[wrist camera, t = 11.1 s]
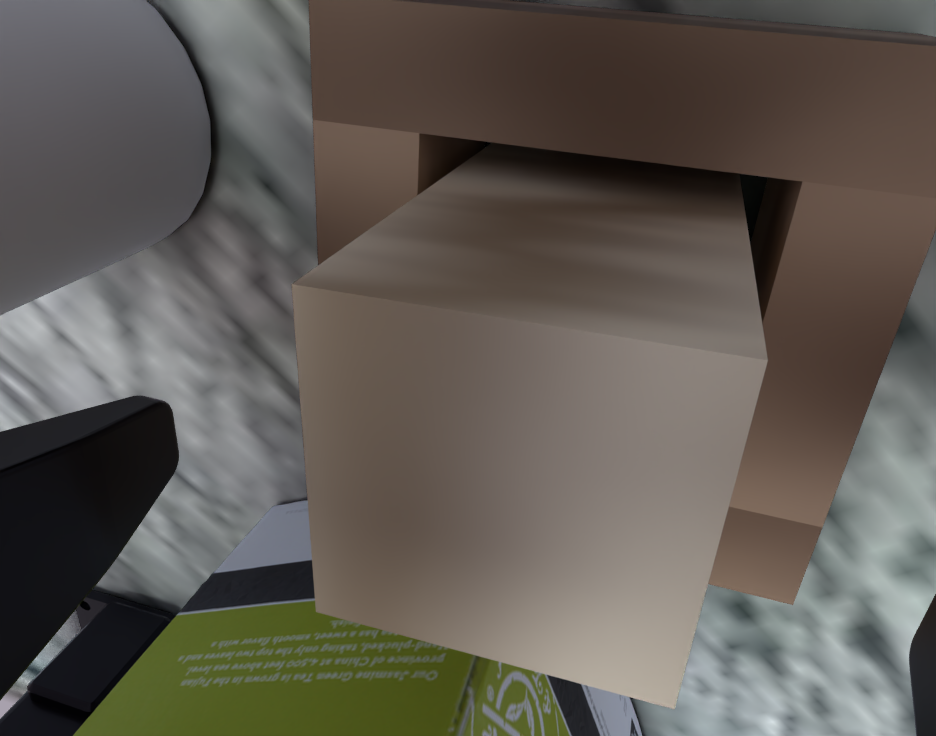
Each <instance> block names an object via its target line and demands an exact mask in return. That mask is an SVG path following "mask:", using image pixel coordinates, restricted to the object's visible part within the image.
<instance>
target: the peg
mask: <svg viewBox="0 0 936 736" xmlns="http://www.w3.org/2000/svg"><path fill="white" fill-rule="evenodd" d="M291 285H292V298H293V312H294V325H295V339H296V352H297V365H298V379H299V392H300V406H301V419H302V432H303V446H304V459H305V473H306V486H307V499H308V513H309V526H310V540H311V553H312V566H313V580H314V593H315V607H316V612H318V613H322V614H325V615H329V616H333V617H336V618H340V619H344V620H347V621H351V622H355V623H359V624H362V625H366V626H370V627H373V628H377V629H381V630H384V631H388V632H392V633H395V634H399V635H403V636H406V637H410V638H414V639H417V640H421V641H425V642H428V643H432V644H436V645H439V646H443V647H447V648H451V649H454V650H458V651H462V652H465V653H469V654H473V655H476V656H480V657H484V658H487V659H491V660H495V661H498V662H502V663H506V664H509V665H513V666H517V667H520V668H524V669H528V670H532V671H535V672H539V673H543V674H546V675H550V676H554V677H557V678H561V679H565V680H568V681H572V682H576V683H579V684H583V685H587V686H590V687H594V688H598V689H601V690H605V691H609V692H612V693H616V694H620V695H624V696H627V697H631V698H635V699H638V700H642V701H646V702H649V703H653V704H657V705H660V706H664V707H668V708H671V709H675V706H676V702H677V698H678V694H679V691H680V687H681V683H682V679H683V676H684V672H685V668H686V665H687V661H688V657H689V653H690V650H691V646H692V642H693V638H694V635H695V631H696V627H697V623H698V620H699V616H700V612H701V609H702V605H703V601H704V597H705V594H706V590H707V586H708V582H709V579H710V575H711V571H712V567H713V564H714V560H715V556H716V552H717V549H718V545H719V541H720V538H721V534H722V530H723V526H724V523H725V519H726V515H727V511H728V508H729V504H730V500H731V496H732V493H733V489H734V485H735V482H736V478H737V474H738V470H739V467H740V463H741V459H742V455H743V452H744V448H745V444H746V440H747V437H748V433H749V429H750V425H751V422H752V418H753V414H754V411H755V407H756V403H757V399H758V396H759V392H760V388H761V384H762V381H763V377H764V373H765V369H766V366H767V362H768V358H767V351H766V345H765V338H764V332H763V325H762V319H761V312H760V305H759V299H758V292H757V286H756V279H755V273H754V266H753V260H752V253H751V246H750V240H749V233H748V227H747V220H746V214H745V207H744V201H743V194H742V187H741V181H740V174H738V173H730V172H722V171H714V170H707V169H699V168H691V167H683V166H675V165H667V164H659V163H651V162H643V161H635V160H627V159H619V158H611V157H604V156H596V155H588V154H580V153H572V152H564V151H556V150H548V149H540V148H532V147H524V146H516V145H508V144H501V143H491V144H490V145H488V146H487V147H486V148H484V149H483V150H481V151H480V152H478V153H477V154H476V155H474V156H473V157H471V158H470V159H468V160H467V161H466V162H464V163H463V164H461V165H460V166H459V167H457V168H456V169H454V170H453V171H451V172H450V173H449V174H447V175H446V176H444V177H443V178H442V179H440V180H439V181H437V182H436V183H434V184H433V185H432V186H430V187H429V188H427V189H426V190H424V191H423V192H422V193H420V194H419V195H417V196H416V197H415V198H413V199H412V200H410V201H409V202H407V203H406V204H405V205H403V206H402V207H400V208H399V209H398V210H396V211H395V212H393V213H392V214H390V215H389V216H388V217H386V218H385V219H383V220H382V221H380V222H379V223H378V224H376V225H375V226H373V227H372V228H371V229H369V230H368V231H366V232H365V233H363V234H362V235H361V236H359V237H358V238H356V239H355V240H354V241H352V242H351V243H349V244H348V245H346V246H345V247H344V248H342V249H341V250H339V251H338V252H336V253H335V254H334V255H332V256H331V257H329V258H328V259H327V260H325V261H324V262H322V263H321V264H319V265H318V266H317V267H315V268H314V269H312V270H311V271H310V272H308V273H307V274H305V275H304V276H302V277H301V278H300V279H298V280H297V281H295V282H294V283H292V284H291Z"/></svg>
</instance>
